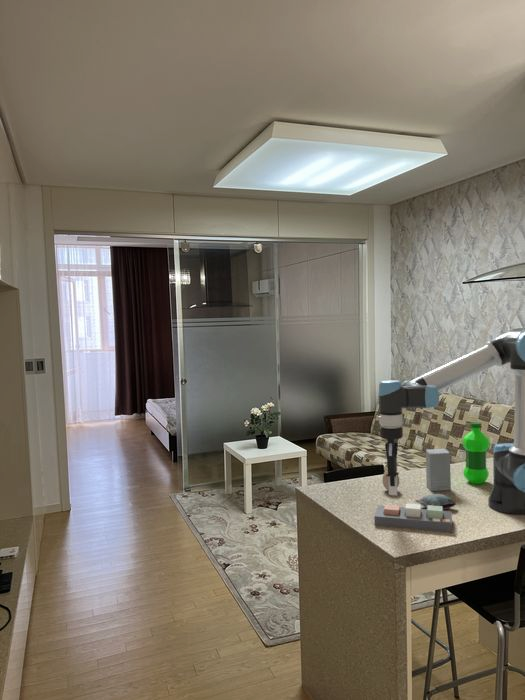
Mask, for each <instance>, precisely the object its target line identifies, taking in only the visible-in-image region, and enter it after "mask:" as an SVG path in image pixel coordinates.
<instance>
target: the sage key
mask: <svg viewBox="0 0 525 700" xmlns="http://www.w3.org/2000/svg"><path fill="white" fill-rule="evenodd" d="M426 509H427V518H438V519H443V511H444V509H443V508H442V506H432V505H428V506H427V508H426Z"/></svg>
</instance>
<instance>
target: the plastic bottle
mask: <svg viewBox="0 0 525 700" xmlns="http://www.w3.org/2000/svg"><path fill="white" fill-rule="evenodd" d="M469 427H470V428H471V430H470V432H468V433H467V434H466V435H465V436H464V437H463V439H462V447H463V448H464V449H465V467H464V469H463V476H464V478H465V479H466V480H467V481H468V482H469V483H470V484H474V485H481V484H483V483H484V482H486V481H487V479H488V477H489V470H488V468H487V451H488V449H489V447H490V440H489V437H488V436H486V435H485V434H484V433H483V432H482V431H481V429H482V422H479V421H478V422H477V421H471V422H470V426H469Z"/></svg>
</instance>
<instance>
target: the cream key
mask: <svg viewBox="0 0 525 700" xmlns="http://www.w3.org/2000/svg"><path fill="white" fill-rule="evenodd" d="M421 509H422V505H421V504H420V503H409V502H408V503H405V516H411V517H421Z"/></svg>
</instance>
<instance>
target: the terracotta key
mask: <svg viewBox="0 0 525 700" xmlns="http://www.w3.org/2000/svg"><path fill="white" fill-rule="evenodd" d="M384 506H385V508H384V514H389V515H400V507H401V506H400V504H399V505H398V504H384Z"/></svg>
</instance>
